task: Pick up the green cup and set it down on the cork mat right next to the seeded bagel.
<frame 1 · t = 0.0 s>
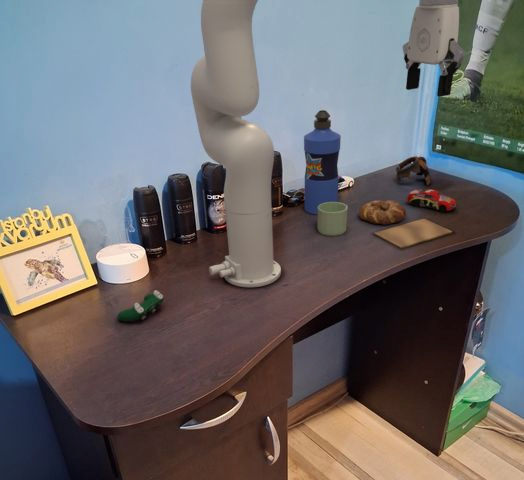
hand: (427, 92, 118), 31 cm above the table, tool pointing down, fingers open, 9 cm apart
brown grey arched frame: (414, 181, 164), on the table
water bottle: (320, 208, 149), on the table
race car: (430, 206, 147), on the table
green cup: (331, 230, 137), on the table
seeded bagel: (381, 218, 142), on the table
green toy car: (144, 315, 108), on the table
cork mat: (412, 233, 133), on the table
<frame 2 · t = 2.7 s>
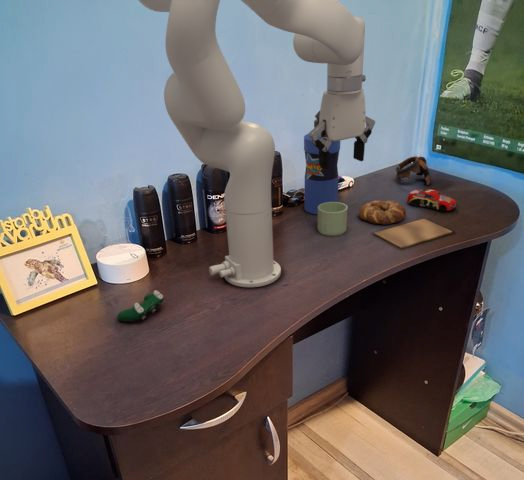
hand: (341, 163, 127), 16 cm above the table, tool pointing down, fingers open, 9 cm apart
nothing on the table moved.
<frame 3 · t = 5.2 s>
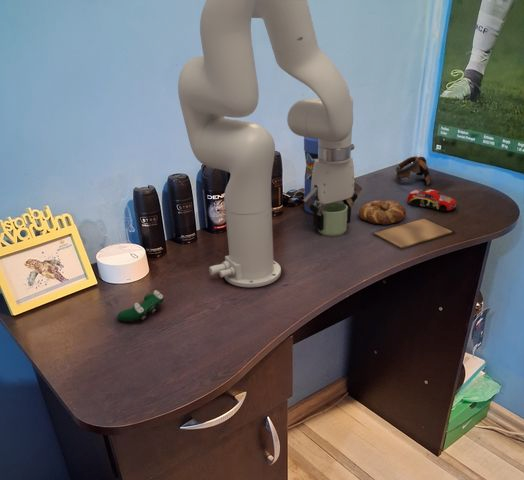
hand: (332, 224, 136), 1 cm above the table, tool pointing down, fingers closed on green cup, 7 cm apart
green cup: (332, 230, 137), on the table, touching gripper
everything else where it was.
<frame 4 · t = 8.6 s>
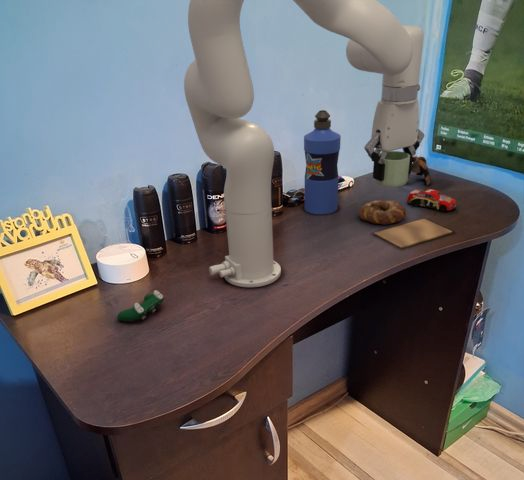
hand: (391, 175, 126), 14 cm above the table, tool pointing down, fingers closed on green cup, 7 cm apart
green cup: (391, 181, 127), point 13 cm above the table, touching gripper
everything else where it was.
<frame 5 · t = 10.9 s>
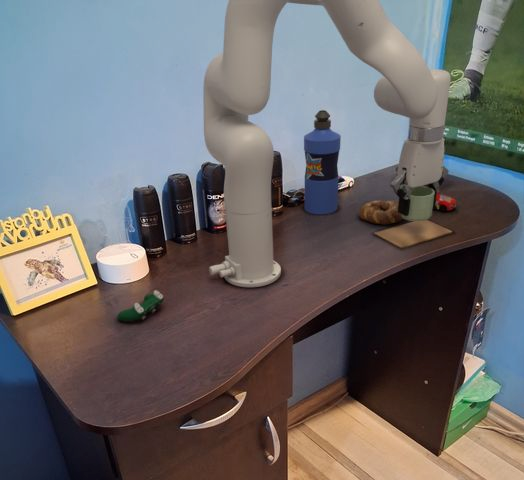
hand: (416, 209, 129), 6 cm above the table, tool pointing down, fingers closed on green cup, 7 cm apart
green cup: (415, 215, 130), point 5 cm above the table, touching gripper
everything else where it was.
when the fingers open (2 cm above the table, at t = 12.5 s): green cup stays where it is, resting on cork mat.
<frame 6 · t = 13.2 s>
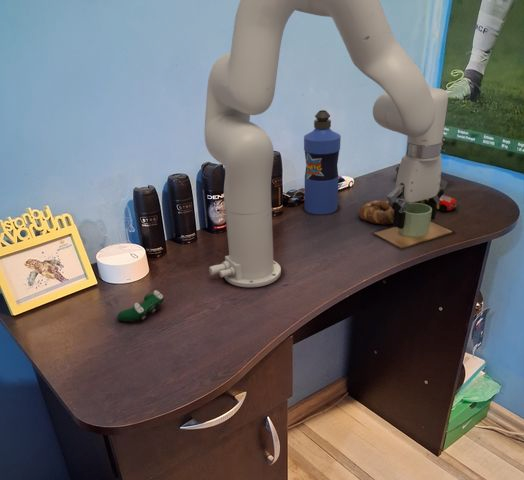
hand: (413, 222, 131), 3 cm above the table, tool pointing down, fingers open, 9 cm apart
green cup: (413, 232, 133), resting on cork mat
everything else where it was.
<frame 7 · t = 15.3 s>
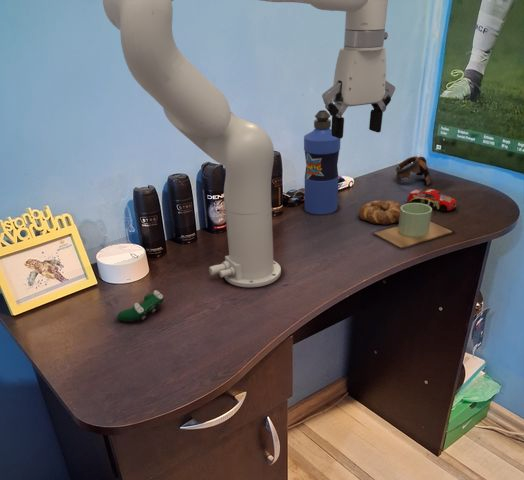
hand: (356, 134, 113), 26 cm above the table, tool pointing down, fingers open, 9 cm apart
nothing on the table moved.
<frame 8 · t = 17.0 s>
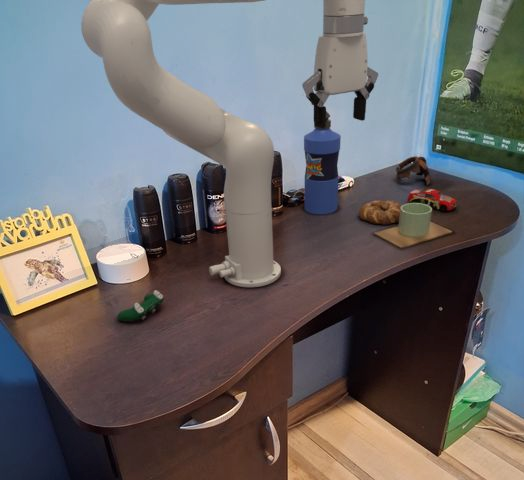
hand: (339, 123, 111), 28 cm above the table, tool pointing down, fingers open, 9 cm apart
nothing on the table moved.
at the end: green cup inside the target area on the table beside the seeded bagel (0.3 cm from its centre), point 0.6 cm above the table; green cup touching cork mat; green cup tilted 0° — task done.
